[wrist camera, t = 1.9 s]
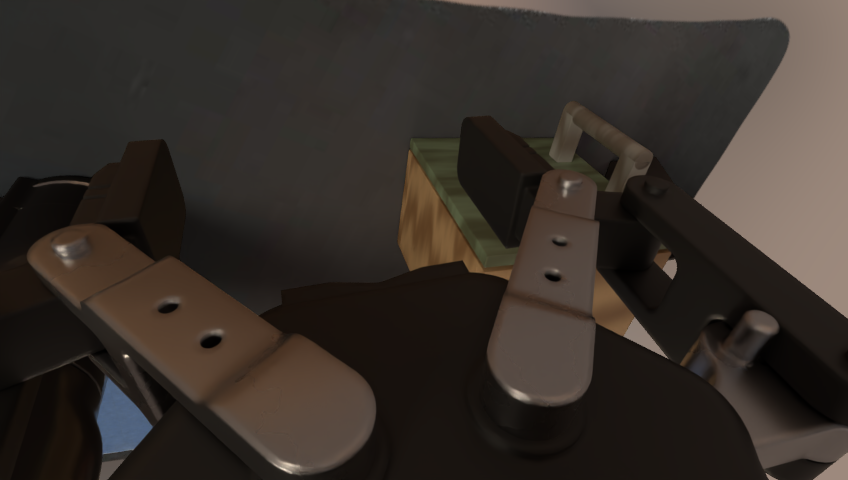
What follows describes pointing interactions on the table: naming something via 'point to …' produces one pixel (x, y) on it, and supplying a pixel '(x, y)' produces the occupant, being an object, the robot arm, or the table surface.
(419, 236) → the cupboard
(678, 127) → the table surface
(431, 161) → the door
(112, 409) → the tablet
